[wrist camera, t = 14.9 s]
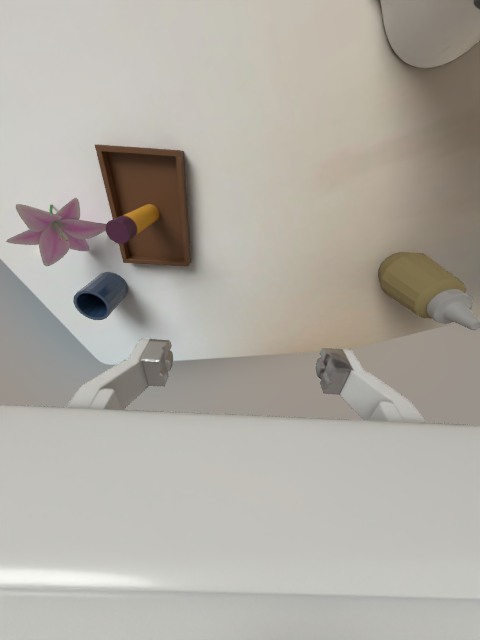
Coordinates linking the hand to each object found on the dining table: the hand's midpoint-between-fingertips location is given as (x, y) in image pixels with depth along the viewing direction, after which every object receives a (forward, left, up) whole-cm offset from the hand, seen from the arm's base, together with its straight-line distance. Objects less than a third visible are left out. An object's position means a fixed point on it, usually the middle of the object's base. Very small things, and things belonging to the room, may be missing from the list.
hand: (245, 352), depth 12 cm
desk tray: (-1, -15, -31) cm, 34 cm away
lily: (+2, -28, -31) cm, 42 cm away
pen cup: (+13, -25, -31) cm, 42 cm away
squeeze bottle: (+6, +28, -31) cm, 42 cm away
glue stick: (-1, -15, -30) cm, 34 cm away
